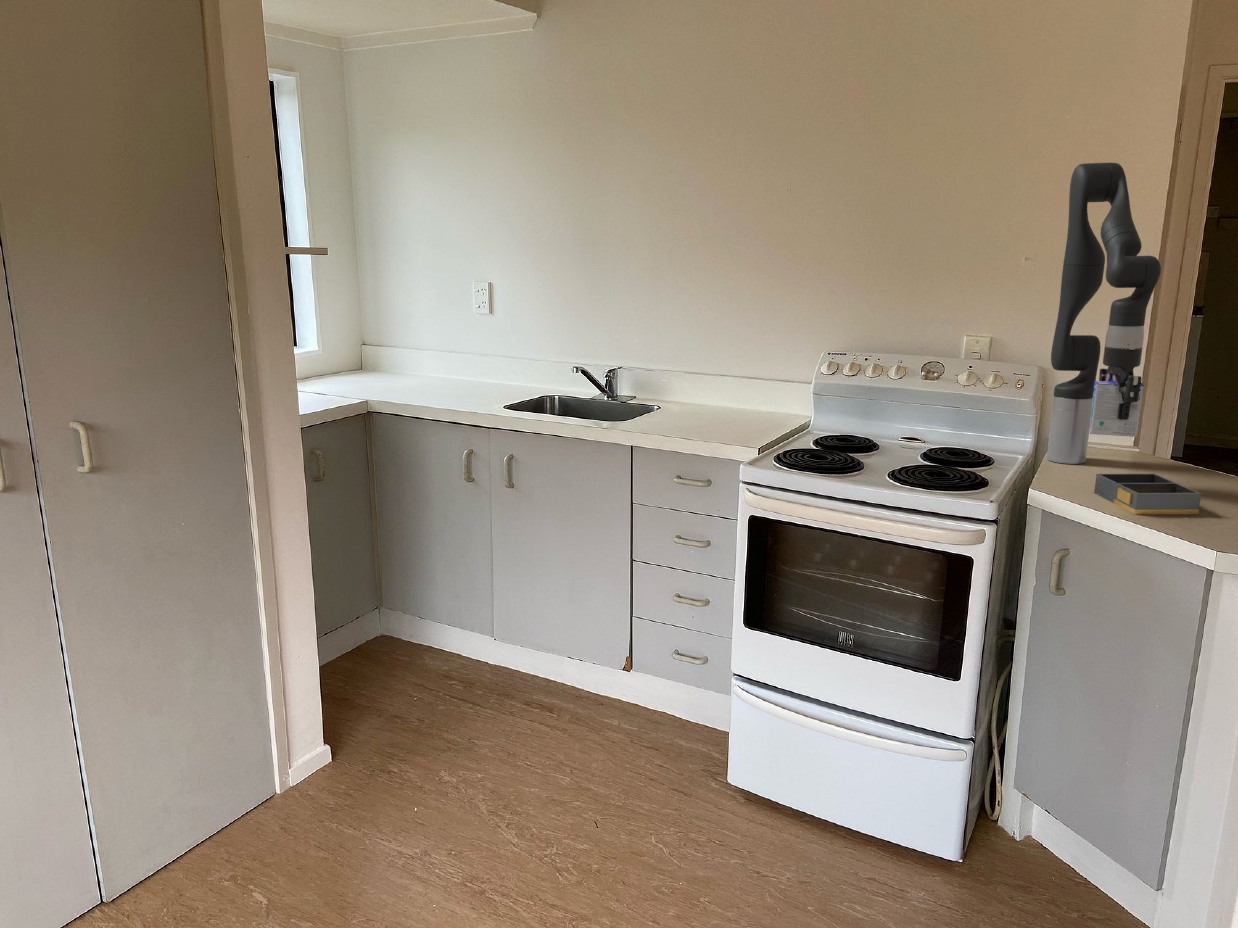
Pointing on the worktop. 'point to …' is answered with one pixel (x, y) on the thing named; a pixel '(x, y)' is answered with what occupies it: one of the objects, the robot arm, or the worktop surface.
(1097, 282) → the robot arm
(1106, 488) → the tray
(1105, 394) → the ink cartridge box
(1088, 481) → the worktop surface
